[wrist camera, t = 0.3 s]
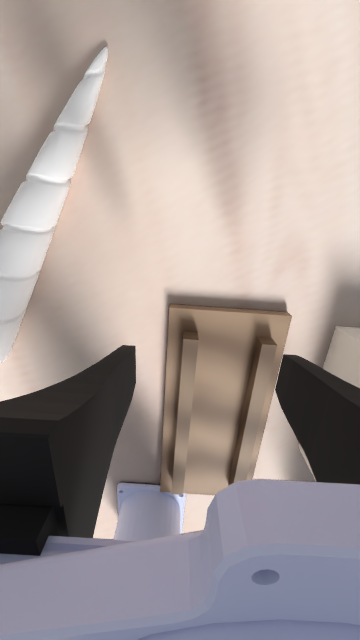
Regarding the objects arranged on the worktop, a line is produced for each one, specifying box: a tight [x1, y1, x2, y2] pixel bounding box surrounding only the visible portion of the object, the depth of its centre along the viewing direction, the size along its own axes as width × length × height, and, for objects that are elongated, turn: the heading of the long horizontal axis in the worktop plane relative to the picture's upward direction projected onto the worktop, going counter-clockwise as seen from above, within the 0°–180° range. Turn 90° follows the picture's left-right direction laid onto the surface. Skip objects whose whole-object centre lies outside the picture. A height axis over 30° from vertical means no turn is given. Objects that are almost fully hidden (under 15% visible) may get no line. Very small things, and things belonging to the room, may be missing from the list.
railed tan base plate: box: [160, 304, 292, 495], centre depth 24 cm, size 22×10×2 cm, turn 176°
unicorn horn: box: [0, 46, 109, 363], centre depth 17 cm, size 5×24×5 cm, turn 144°
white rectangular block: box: [298, 326, 360, 481], centre depth 22 cm, size 14×3×5 cm, turn 176°
